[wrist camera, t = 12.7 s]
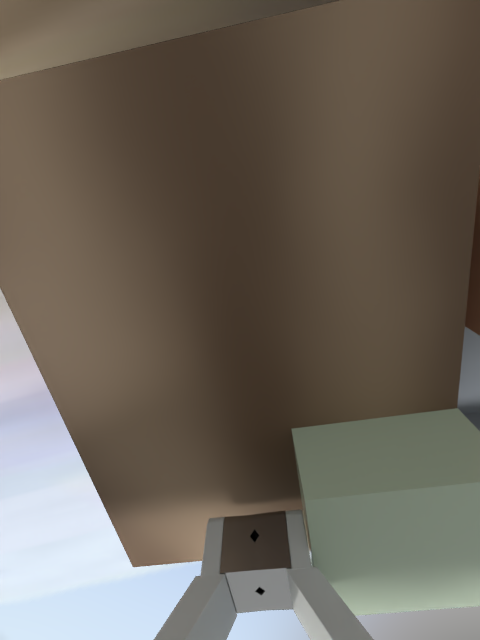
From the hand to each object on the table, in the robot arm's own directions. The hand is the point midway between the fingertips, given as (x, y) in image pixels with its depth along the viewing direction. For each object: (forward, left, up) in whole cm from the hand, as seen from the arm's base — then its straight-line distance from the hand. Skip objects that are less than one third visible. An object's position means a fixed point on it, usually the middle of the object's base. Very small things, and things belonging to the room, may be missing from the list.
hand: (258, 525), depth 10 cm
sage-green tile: (+4, 0, -1) cm, 4 cm away
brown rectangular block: (0, +5, -7) cm, 9 cm away
